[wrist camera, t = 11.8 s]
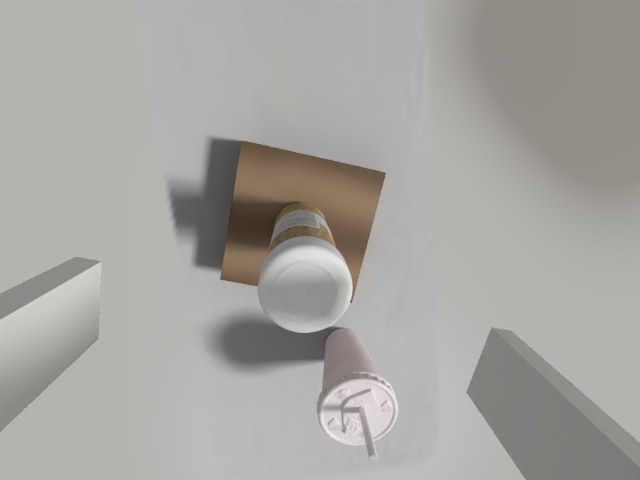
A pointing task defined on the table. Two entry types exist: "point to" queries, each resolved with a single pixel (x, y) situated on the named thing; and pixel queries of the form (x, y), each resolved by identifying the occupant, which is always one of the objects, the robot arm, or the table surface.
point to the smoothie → (354, 394)
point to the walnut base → (289, 188)
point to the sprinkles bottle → (304, 273)
